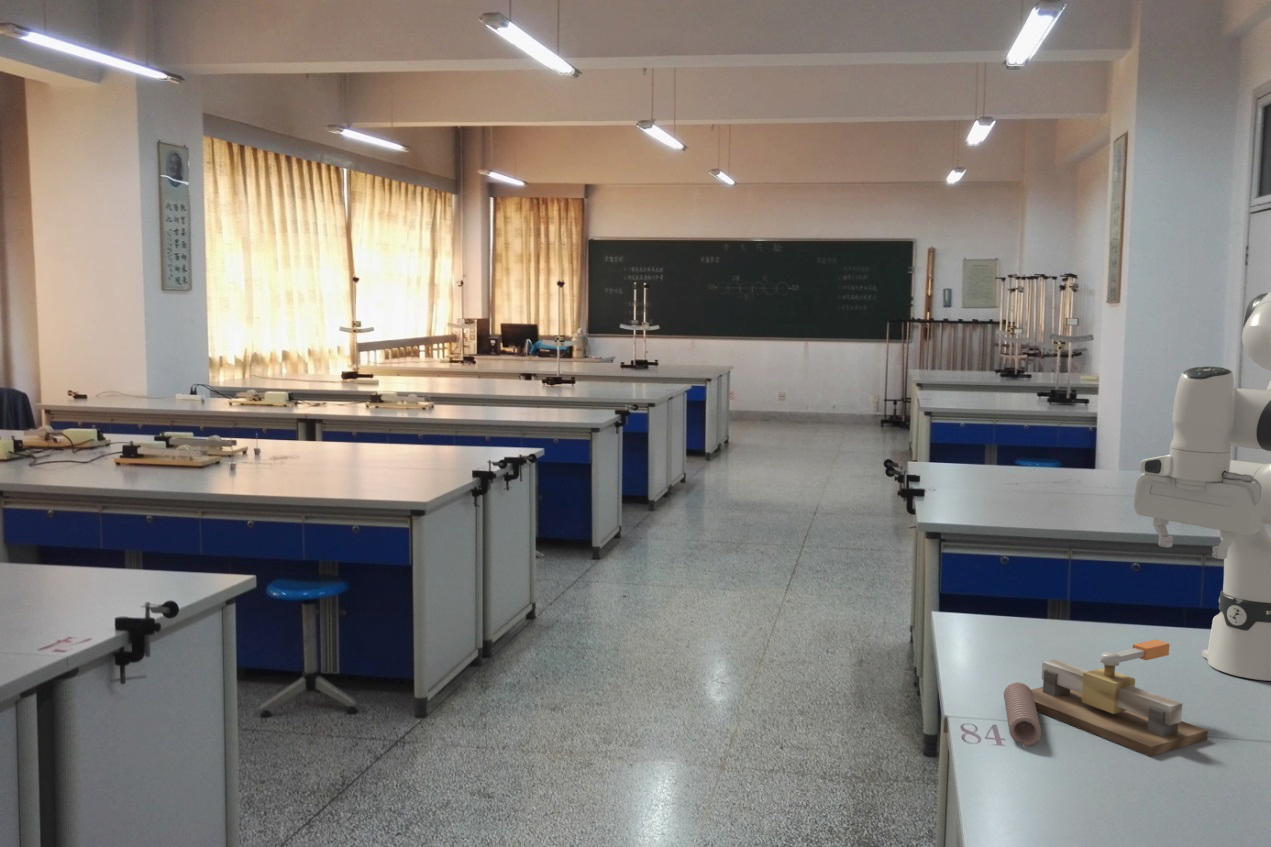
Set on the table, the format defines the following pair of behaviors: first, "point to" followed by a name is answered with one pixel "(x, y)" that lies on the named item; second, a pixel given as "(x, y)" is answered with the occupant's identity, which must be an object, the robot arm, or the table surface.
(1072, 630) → the table surface
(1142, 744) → the valve stand
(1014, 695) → the coil
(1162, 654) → the valve lever
